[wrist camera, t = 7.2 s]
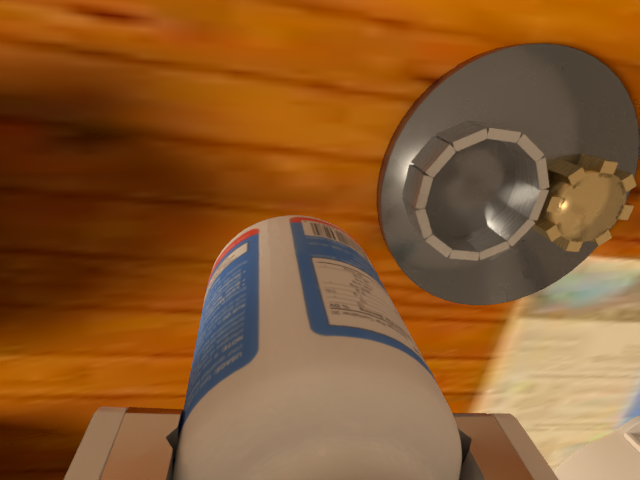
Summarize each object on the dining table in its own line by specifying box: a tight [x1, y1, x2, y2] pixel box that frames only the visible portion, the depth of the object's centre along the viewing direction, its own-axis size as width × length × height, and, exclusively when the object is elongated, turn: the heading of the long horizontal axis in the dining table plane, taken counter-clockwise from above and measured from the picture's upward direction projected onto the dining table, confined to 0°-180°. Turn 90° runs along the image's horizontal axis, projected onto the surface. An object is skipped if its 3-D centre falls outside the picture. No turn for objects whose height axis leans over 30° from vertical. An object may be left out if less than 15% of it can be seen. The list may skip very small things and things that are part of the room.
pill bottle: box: [173, 215, 462, 480], centre depth 9 cm, size 6×5×10 cm
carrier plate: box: [377, 44, 639, 305], centre depth 27 cm, size 18×18×4 cm
